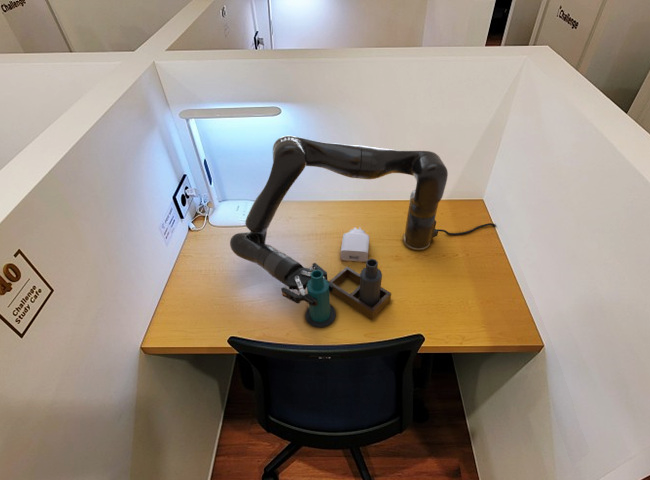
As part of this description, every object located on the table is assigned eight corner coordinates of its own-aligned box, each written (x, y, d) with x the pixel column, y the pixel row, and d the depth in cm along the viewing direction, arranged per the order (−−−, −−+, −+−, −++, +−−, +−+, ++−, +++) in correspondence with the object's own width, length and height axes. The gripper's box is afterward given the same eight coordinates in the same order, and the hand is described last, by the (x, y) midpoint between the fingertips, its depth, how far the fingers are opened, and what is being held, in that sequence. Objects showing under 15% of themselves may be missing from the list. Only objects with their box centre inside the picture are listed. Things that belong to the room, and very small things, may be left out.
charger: (370, 233, 135) (367, 262, 124) (345, 231, 136) (340, 260, 125) (370, 223, 131) (368, 252, 121) (345, 221, 132) (340, 250, 122)
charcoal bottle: (372, 292, 115) (375, 252, 102) (382, 305, 111) (387, 265, 99) (355, 300, 113) (356, 260, 100) (366, 313, 109) (368, 273, 97)
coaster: (327, 299, 113) (326, 297, 113) (341, 319, 108) (341, 318, 107) (300, 310, 110) (300, 309, 110) (313, 332, 105) (313, 331, 104)
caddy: (346, 274, 120) (346, 266, 118) (390, 301, 112) (391, 293, 110) (328, 291, 116) (327, 282, 113) (372, 320, 108) (372, 312, 105)
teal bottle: (324, 302, 112) (321, 262, 99) (333, 316, 108) (332, 277, 95) (306, 310, 110) (301, 270, 97) (315, 325, 106) (311, 285, 93)
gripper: (262, 272, 101) (305, 303, 94) (299, 245, 109) (341, 272, 101) (266, 290, 107) (307, 320, 99) (301, 263, 114) (342, 289, 107)
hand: (324, 296), depth 100 cm, fingers closed on teal bottle, 6 cm apart
